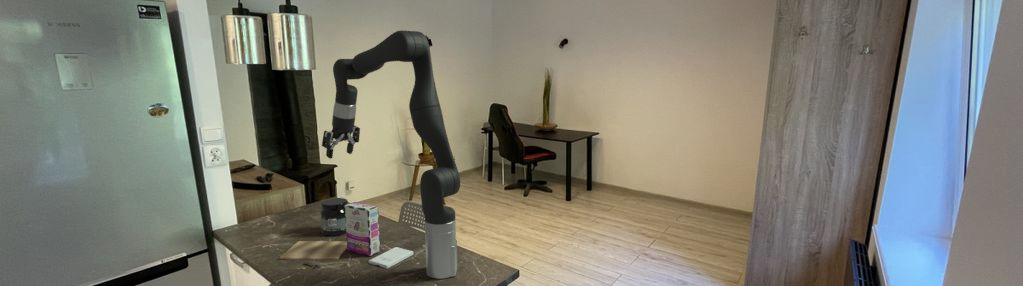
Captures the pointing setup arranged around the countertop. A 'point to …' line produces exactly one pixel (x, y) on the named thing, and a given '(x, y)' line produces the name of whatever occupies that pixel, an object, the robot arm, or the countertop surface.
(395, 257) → the external hard drive
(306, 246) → the cork mat
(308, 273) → the countertop surface
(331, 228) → the supplement container
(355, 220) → the candy bar box
